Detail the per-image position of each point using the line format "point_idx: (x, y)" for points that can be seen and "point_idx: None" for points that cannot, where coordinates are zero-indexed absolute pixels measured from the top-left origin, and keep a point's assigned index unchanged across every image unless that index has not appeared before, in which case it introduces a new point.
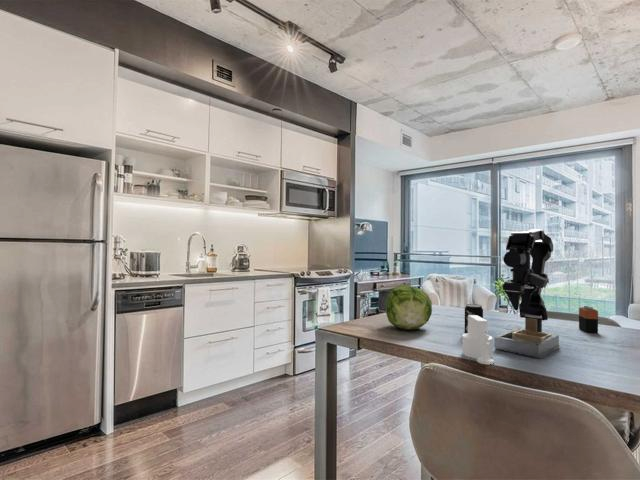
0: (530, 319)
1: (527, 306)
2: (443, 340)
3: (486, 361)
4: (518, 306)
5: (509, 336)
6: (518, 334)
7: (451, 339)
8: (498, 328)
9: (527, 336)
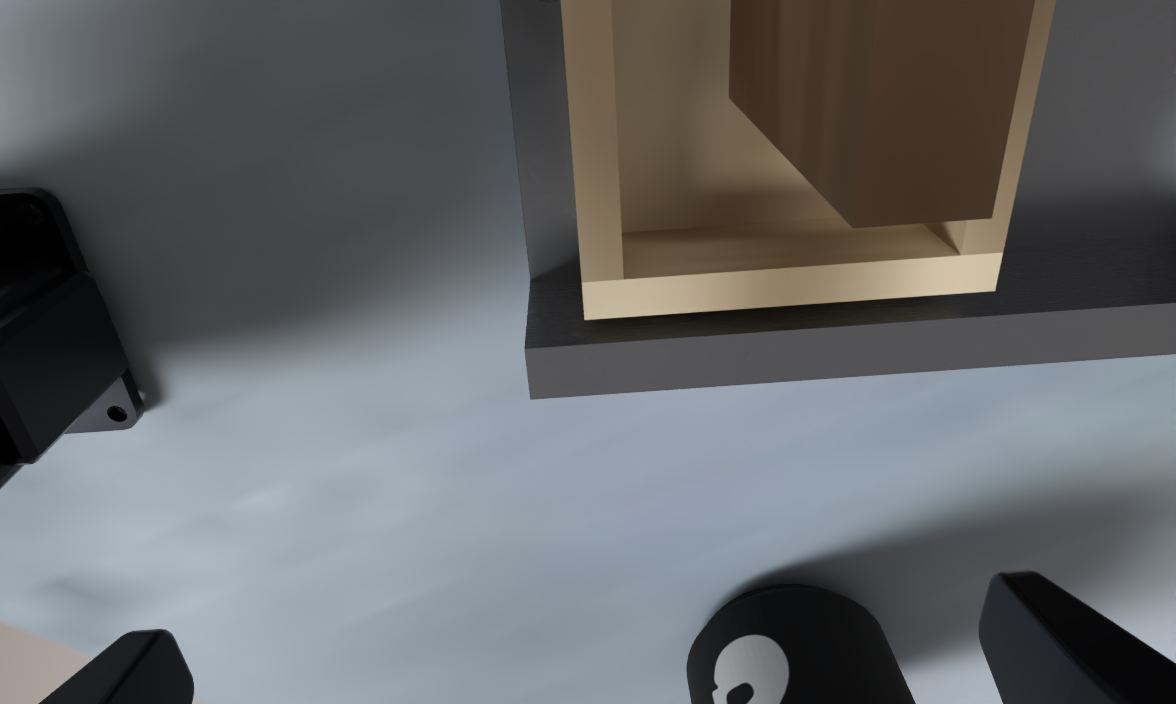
0: (1007, 93)
1: (150, 644)
2: None
3: None
4: (1097, 656)
5: None
6: (1011, 179)
7: None
8: None
9: (1044, 5)
